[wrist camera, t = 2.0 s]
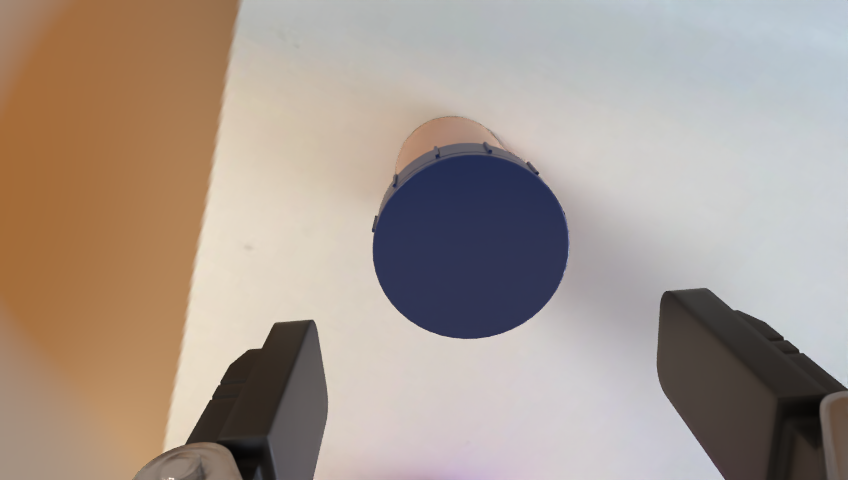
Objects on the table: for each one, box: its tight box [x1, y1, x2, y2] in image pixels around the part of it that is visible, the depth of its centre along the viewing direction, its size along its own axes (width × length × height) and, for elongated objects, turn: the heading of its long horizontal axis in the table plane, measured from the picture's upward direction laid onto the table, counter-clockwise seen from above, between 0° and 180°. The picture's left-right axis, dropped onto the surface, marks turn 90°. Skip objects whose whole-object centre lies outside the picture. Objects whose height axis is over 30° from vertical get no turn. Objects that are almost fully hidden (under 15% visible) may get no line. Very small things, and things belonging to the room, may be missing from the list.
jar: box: [395, 117, 505, 175], centre depth 21 cm, size 5×5×10 cm
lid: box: [372, 142, 570, 339], centre depth 17 cm, size 6×6×2 cm
